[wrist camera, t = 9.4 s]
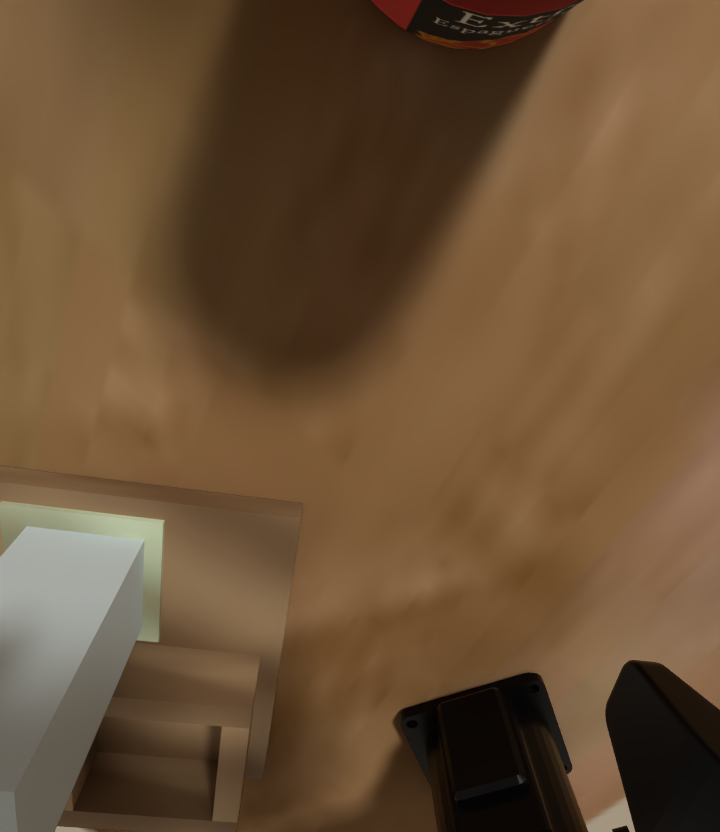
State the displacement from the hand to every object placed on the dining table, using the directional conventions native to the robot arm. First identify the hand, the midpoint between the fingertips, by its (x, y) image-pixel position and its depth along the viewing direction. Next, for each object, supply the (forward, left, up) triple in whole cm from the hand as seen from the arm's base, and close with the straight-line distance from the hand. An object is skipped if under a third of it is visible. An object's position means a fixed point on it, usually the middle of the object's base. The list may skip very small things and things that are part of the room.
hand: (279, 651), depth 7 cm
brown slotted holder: (-9, +11, -13) cm, 19 cm away
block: (-5, +11, -12) cm, 17 cm away
